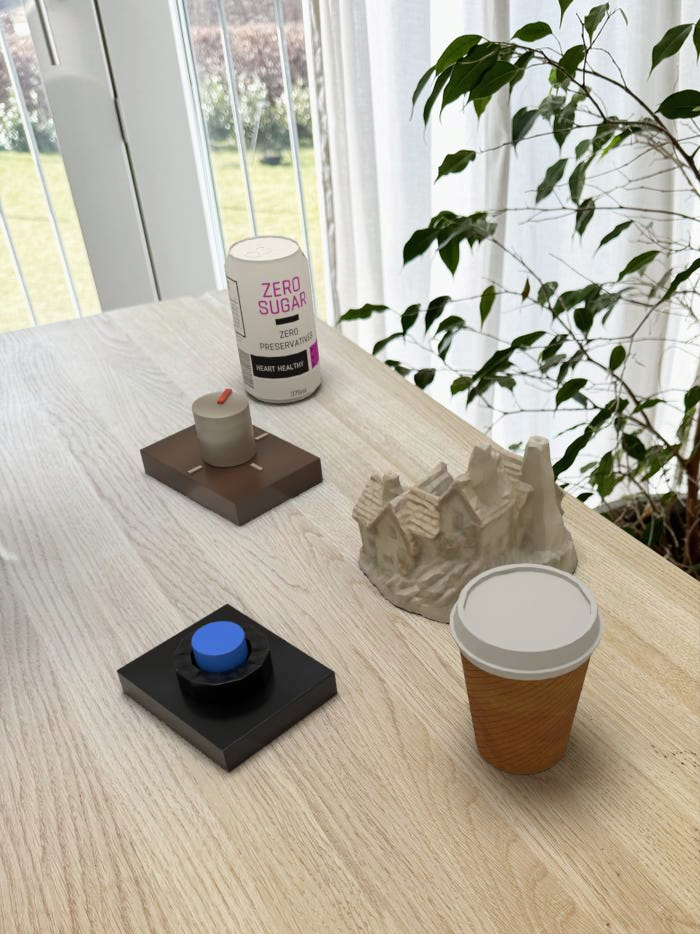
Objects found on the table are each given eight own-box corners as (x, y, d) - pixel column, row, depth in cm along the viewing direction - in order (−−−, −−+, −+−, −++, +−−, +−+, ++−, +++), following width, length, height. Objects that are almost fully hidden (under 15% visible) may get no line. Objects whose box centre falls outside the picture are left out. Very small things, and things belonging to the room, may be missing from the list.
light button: (185, 658, 70) (180, 639, 69) (226, 632, 72) (222, 614, 71) (217, 681, 68) (213, 662, 67) (258, 654, 71) (255, 635, 69)
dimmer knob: (246, 469, 91) (236, 416, 88) (193, 464, 92) (182, 412, 88) (263, 441, 95) (255, 390, 91) (213, 437, 95) (203, 386, 92)
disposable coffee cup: (424, 734, 70) (417, 599, 62) (526, 674, 74) (532, 541, 66) (515, 817, 64) (520, 680, 56) (619, 746, 69) (638, 611, 61)
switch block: (123, 692, 73) (109, 651, 70) (231, 624, 79) (223, 584, 76) (228, 773, 67) (218, 731, 64) (338, 693, 73) (332, 652, 70)
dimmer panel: (145, 472, 95) (138, 448, 94) (228, 432, 101) (223, 408, 99) (239, 527, 89) (235, 501, 87) (323, 480, 94) (320, 456, 93)
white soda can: (278, 364, 113) (258, 227, 103) (337, 382, 109) (322, 242, 100) (229, 394, 107) (203, 252, 98) (289, 413, 104) (269, 269, 94)
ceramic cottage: (604, 564, 84) (605, 399, 74) (456, 657, 76) (436, 487, 67) (481, 498, 93) (468, 344, 84) (337, 575, 86) (305, 415, 76)
